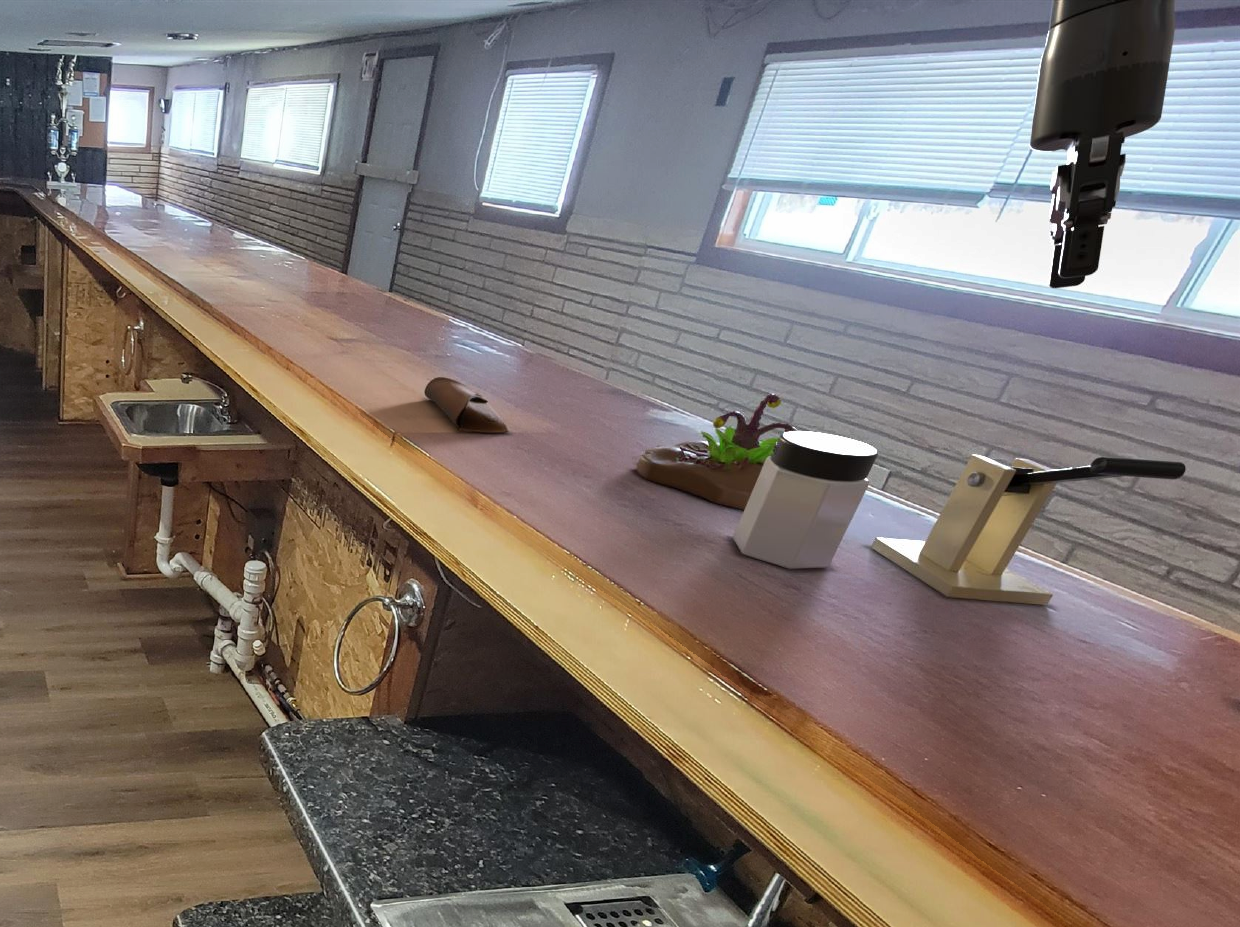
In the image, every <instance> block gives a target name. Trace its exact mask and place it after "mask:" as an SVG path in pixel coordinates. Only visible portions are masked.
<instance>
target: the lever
mask: <svg viewBox="0 0 1240 927" xmlns="http://www.w3.org/2000/svg"><path fill="white" fill-rule="evenodd" d="M1009 467H1010V468H1012V469H1015V470H1016V472H1015V474H1014V476H1013V477H1012V479H1011V481H1010V483H1009V484H1008V486H1007V488H1006V490H1005V491H1004V493H1003V495H1002V496H1010V495H1022V494H1029V493H1030V487H1031V485H1040V484H1051V483H1057V484H1060V483H1061V484H1062V483H1069V482H1080V481H1091V480H1101V479H1110V478H1111V479H1112V478H1121V477H1132V478H1145V479H1161V480H1178V479H1180V478H1181V477H1183V476H1184V475H1185V473H1186V470H1187V467H1186V465H1185V464H1184V463H1183V462H1180V461H1171V460H1169V461H1168V460H1156V459H1143V458H1129V457H1128V458H1127V457H1115V456H1113V457H1112V456H1098V457H1096V458H1094V459H1093V460H1092V462H1091V463H1090V465H1087V466H1080V467H1069V468H1061V469H1053V470H1052V471H1043V472H1034V473H1033V470H1034V469H1031V468H1017V467H1011V466H1009Z"/></svg>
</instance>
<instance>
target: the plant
mask: <svg viewBox="0 0 1240 927" xmlns="http://www.w3.org/2000/svg"><path fill="white" fill-rule="evenodd" d="M781 403H782V398H781V396H780V395H779V394H776V393H770V394H767V395H766V396H765V398H764V399H763V400H761V401H760V402H759V405H758V406H756V407H755V410H754V411H753V413H752V415H751V416H750V417H749V421H748V423H747V422H746V420H747V419H746V418H745V417H746V416H745V415H744V414H743V413H742V412H740V411H738V410H733V411H730V412H728V413H725V414H723V415H719V416H717V417H716V418H714V420H713V422H712V425H713V427H714V432H715V434H716V436H717V437H718V440H719V442H717V440H716V439H715V438H714V437H713V435H711V434H710V433H708V432H705V431H703V430H700V434H701V435H702V437H703V438H705V439H706V441H705V440H688V441H684V442H681V443H678V444H675V445H657V446H656V447H647V448H646V449H645V451H644V454H641V455H640V456H639V459H638V462H637V465H636V471H637V473H638V474H639V475H640V476H641V477H643V478H645V479H646V480H648V481H650V482H653V483H656V484H659V485H664V486H667V487H670V488H675V489H678V490H680V491H683V492H687V493H689V494H693V495H694V496H698V497H700V498H702V499H704V500H707V501H709V502H712V503H713V504H717V505H721V506H726V507H730V508H734V509H738V510H743V511H744V510H745V508H746V505H747V503H748V500H749V498H750V496H751V493H752V491H753V489H754V486H755V484H756V482H757V479H758V477H759V474H760V472H761V470H762V467H763V465H764V463H765V460H766V458H767V457H768V456H772V453H773V449H774V446H775V444H776V443H777V442H778V439H779V437H771V438H767V439H765V440H763V441H760V440H759V439H760V437H761V436H763V435H764V434H765V433H768V432H770V431H772V430H775V429H783V430H784V433H785V432H791V431H798V429H797V428H795V427H794V425H792V424H791V425H790V424H789V423H784V422H772V423H770V424H766V425H764V426H762V427H760V426H761V423H760V421H761V420H762V415H763V414H764V410H765V408H767V407H769V408H771V409H774V408H777V407H779V406H780V405H781ZM730 417H735V418H736V428H734V427H733V426H732V425H730V426H729V425H728V426H727V427H725V429H724V432H723V431H721V430H720V428H723V427H724V426H725V425H726V423H727V422H728V420H729V418H730Z"/></svg>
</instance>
